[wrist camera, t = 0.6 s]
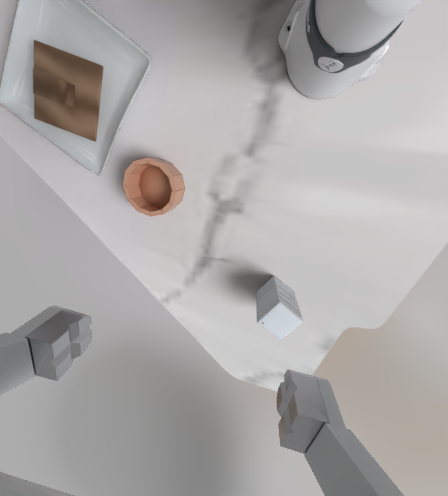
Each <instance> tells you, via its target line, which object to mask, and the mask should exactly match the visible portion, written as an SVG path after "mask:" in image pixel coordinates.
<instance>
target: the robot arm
mask: <svg viewBox="0 0 448 496" xmlns="http://www.w3.org/2000/svg"><path fill="white" fill-rule="evenodd" d="M422 1H423V0H296V1H295V3H294V5H293V7H292V9H291V11H290V13H289V15H288V17H287V19H286V21H285V23H284V25H283V27H282V29H281V31H280V33H279V36H278V42H279V45H280V47H281V49H282V51H283V52H284V54H285V57H286V63H287V70H288V74H289V77H290V80H291V82H292V83H293V85H294V86H295V88H296V89H297V90H298V91H299V92H300V93H302V94H303V95H305V96H307V97H310V98H313V99H326V98H330V97H333V96H336V95H338V94H340V93H341V92H343V91H344V90H346V89H347V88H348V87H350V86H351V85H352V84H354V83H355V82H357V81H360V80H363V79H366V78H368V77H370V76H372V75H373V74H374V73H375V72H376V71H377V69H378V66H379V63H380V60H381V57H382V56H383V55H384V53H385V52H386V51H387V49H388V48H389V45H388V43H389V40H390V38H391V37H392V36H393V34H394V33H395V32H396V30H397V29H398V28H399V26H400V25H401V23H402V22H403V20H404V19H405V18H406V17H407V16H408V15H409V14H410V13H411V12H412V11H413V10H414V9H415V8H416V7H417V6H418V5H419V4H420V3H421V2H422ZM288 27H290V28H291V30H290V31H288V30H287V28H288ZM91 323H92V321H91V317H90V316H88V315H85V314H82V313H78V312H75V311H72V310H69V309H65V308H62V307H58V306H51V307H49V308H47V309H46V310H44V311H43V312H41V313H40V314H38V315H37V316H35V317H34V318H32V319H31V320H29V321H28V322H26V323H25V324H24V325H22V326H21V327H19V328H18V329H16V330H15V331H13V332H12V333H3V334H0V396H1V395H2V394H4V393H6V392H8V391H9V390H11V389H13V388H15V387H17V386H19V385H21V384H22V383H24V382H26V381H28V380H30V379H32V378H33V377H35V375H37V376H41V377H45V378H48V379H52V380H56V381H58V380H59V378H60V377H61V376H62V375H63V374H64V373H65V372H66V371H67V370H68V369H69V368H70V367H71V365H72V362H73V359H74V358H76V357H78V356H80V355H82V354H83V353H84V351H85V350H86V349H87V347H88V346H89V344H90V342H91V339H92V331H91V329H90V328H89V325H90V324H91ZM284 379H285V381H284V382H282V383H281V384H280V386H279V389H278V393H277V411H278V413H279V414H280V416H281V420H280V422H279V436H280V446H282V447H285V448H288V449H292V450H294V451H297V452H300V453H304V454H305V457H306V459H307V461H308V463H309V465H310V467H311V469H312V471H313V473H314V475H315V477H316V479H317V481H318V483H319V485H320V487H321V488H322V491H323V493H324V494H325V496H404V495H403V494H402V493H401V491H400V490H399V489H398V488H397V486H396V485H395V484H394V483H393V482H392V480H391V479H390V478H389V477H388V475H387V474H386V473H385V472H384V471H383V469H382V468H381V467H380V466H379V464H378V463H377V462H376V461H375V459H374V458H373V457H372V456H371V455H370V453H369V452H368V451H367V450H366V449H365V447H364V446H363V445H362V444H361V442H360V441H359V440H358V439H357V438H356V436H355V435H354V434H353V432H352V431H351V430H349V429H346V427H345V424H344V421H343V418H342V416H341V413H340V410H339V407H338V404H337V401H336V399H335V396H334V393H333V390H332V387H331V385H330V382H329V381H328V380H326V379H323V378H319V377H315V376H312V375H308V374H304V373H300V372H296V371H293V370H289V369H288V370H287V371H286V373H285V375H284ZM0 496H73V495H70V494H67V493H64V492H61V491H58V490H54V489H51V488H48V487H45V486H42V485H39V484H36V483H33V482H30V481H27V480H23V479H20V478H17V477H14V476H11V475H8V474H5V473H2V472H0Z"/></svg>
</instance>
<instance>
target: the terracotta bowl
mask: <svg viewBox="0 0 448 496" xmlns="http://www.w3.org/2000/svg"><path fill="white" fill-rule="evenodd" d="M123 189H124V192H125V195H126V198H127V200H128V202H129V203H130V204H131V205H132V206H133V207H134V208H135V209H136V210H137V211H138V212H141V213H143V214H146V215H148V216H156V215H162V214H165V213H167V212H169V211H171V210H173V209H174V208H175V207H176V206H177V205H178V204H179V203H180V202H181V201H182V199H183V195H184V191H185V186H184V182H183V177H182V174H181V173H180V172H179V171H178V170H177V168H176V167H175V166H174V165H173V164H172V163H169V162H167V161H164V160H161V159H155V158H144V159H140V160H136V161H133V163H132V164H131V165H130V166H129V167H128V168H127V169H126V171H125V173H124V180H123Z"/></svg>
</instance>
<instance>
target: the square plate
mask: <svg viewBox="0 0 448 496" xmlns="http://www.w3.org/2000/svg"><path fill="white" fill-rule="evenodd" d="M34 40H36V41H39V42H42V43H44V44H47V45H49V46H52V47H55V48H57V49H60V50H63V51H65V52H68V53H70V54H73V55H76V56H78V57H81V58H84V59H86V60H89V61H91V62H94V63H97V64H99V65H102V66H103V67H104V68H103V78H102V88H101V99H100V109H99V119H98V129H97V140H96V142H95V141H92V140H89V139H87V138H84V137H81V136H79V135H76V134H74V133H71V132H68V131H66V130H63V129H60V128H58V127H55V126H53V125H50V124H47V123H45V122H42V121H39V120H37V119H34V93H33V68H34ZM151 63H152V58H151V56H150V55H149V54H148V53H147V52H146V51H145V50H143V49H142V48H141V47H140V46H139V45H138V44H136V43H135V42H134V41H132V40H131V39H130V38H129V37H127V36H126V35H125V34H124V33H122V32H121V31H120V30H119V29H117V28H116V27H115V26H114V25H112V24H111V23H110V22H109V21H107V20H106V19H105V18H104V17H102V16H101V15H100V14H99V13H98V12H96V11H95V10H94V9H93V8H91V7H90V6H89V5H88V4H87V3H86V2H84V1H83V0H18V5H17V9H16V14H15V18H14V22H13V27H12V32H11V36H10V41H9V45H8V50H7V54H6V59H5V64H4V69H3V74H2V79H1V85H0V104H1V105H2V106H4V107H5V108H6V109H8V110H9V111H10V112H12V113H13V114H15V115H16V116H17V117H19V118H20V119H22V120H23V121H24V122H26V123H27V124H28V125H30V126H31V127H33V128H34V129H35V130H37V131H38V132H40V133H41V134H42V135H44V136H45V137H46V138H48V139H49V140H50V141H52V142H53V143H55V144H56V145H57V146H59V147H60V148H61V149H62V150H64V151H65V152H66V153H68V154H69V155H70V156H72V157H73V158H74V159H76V160H77V161H78V162H80V163H81V164H82V165H84V166H85V167H87V168H88V169H89V170H90V171H92V172H93V173H95V174H96V175H98V176H100V175H101V174H102V172H103V170H104V168H105V166H106V163H107V161H108V158H109V155H110V153H111V150H112V147H113V145H114V142H115V139H116V137H117V134H118V132H119V129H120V127H121V125H122V122H123V120H124V118H125V116H126V114H127V112H128V110H129V108H130V106H131V104H132V102H133V100H134V98H135V96H136V94H137V92H138V90H139V88H140V87H141V85H142V83H143V81H144V79H145V77H146V75H147V73H148V71H149V69H150V66H151Z"/></svg>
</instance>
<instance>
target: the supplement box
mask: <svg viewBox="0 0 448 496" xmlns="http://www.w3.org/2000/svg"><path fill="white" fill-rule="evenodd" d="M256 301H257V323H259V324H260V325H261V326H263V327H264V328H265V329H267V330H268V331H269V332H271V333H272V334H273V335H275V336H276V337H277V338H279V339H280V340H281V339H283V338H284V337H285V336H286V335H288V334H289V333H290V332H291V331H293V330H294V329H295V328H297V327H298V326H299V325H300V324H302V323H303V322H304V321H303V318H302V315H301V312H300V309H299V306H298V303H297V300H296V296H295V293H294V291H293V290H292V289H290V288H289V287H288V286H287V285H285V284H284V283H283V282H282V281H281V280H279V279H278V278H277V277H275V276H273V277H272V278H270V279H269V280H268V281H267V282H266V283H265V284H264V285H263V286H262V287H261V288H260V289H259V290H258V291H257V292H256Z"/></svg>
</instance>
